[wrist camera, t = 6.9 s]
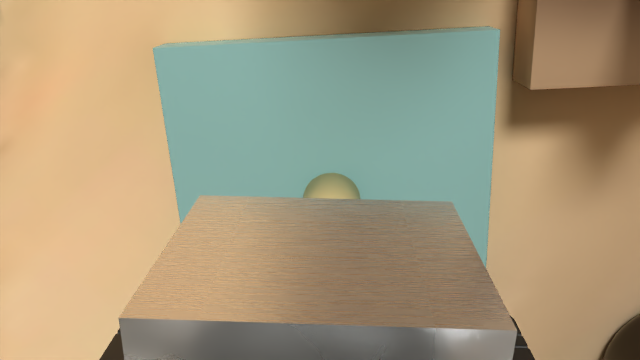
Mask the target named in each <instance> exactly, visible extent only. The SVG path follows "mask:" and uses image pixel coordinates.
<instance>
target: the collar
mask: <svg viewBox="0 0 640 360" xmlns="http://www.w3.org/2000/svg"><path fill="white" fill-rule="evenodd" d="M119 324H120V332H121V339H122V346H123V353H124V360H513V354H514V348H515V341H516V335H517V329H516V327H515V325H514V323H513V321H512V319H511V317H510V315H509V313H508V311H507V309H506V307H505V305H504V303H503V301H502V299H501V297H500V295H499V293H498V291H497V289H496V288H495V286H494V284H493V282H492V280H491V278H490V276H489V274H488V272H487V270H486V268H485V266H484V264H483V262H482V260H481V258H480V256H479V254H478V252H477V250H476V248H475V246H474V244H473V242H472V240H471V238H470V236H469V234H468V232H467V230H466V228H465V226H464V224H463V222H462V220H461V218H460V216H459V214H458V213H457V211H456V209H455V207H454V205H453V203H452V201H412V200H371V199H330V198H290V197H249V196H208V195H200V196H199V197H198V199H197V200H196V202H195V203H194V205H193V206H192V208H191V209H190V211H189V212H188V214H187V215H186V217H185V219H184V220H183V222H182V223H181V225H180V226H179V228H178V229H177V231H176V232H175V234H174V235H173V237H172V238H171V240H170V241H169V243H168V244H167V246H166V247H165V249H164V250H163V252H162V253H161V255H160V256H159V258H158V259H157V261H156V262H155V264H154V265H153V267H152V268H151V270H150V271H149V273H148V274H147V276H146V277H145V279H144V280H143V282H142V283H141V285H140V286H139V288H138V289H137V291H136V292H135V294H134V295H133V297H132V298H131V300H130V301H129V303H128V304H127V306H126V307H125V309H124V310H123V312H122V313H121V315H120V317H119Z"/></svg>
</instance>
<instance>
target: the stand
mask: <svg viewBox="0 0 640 360" xmlns="http://www.w3.org/2000/svg"><path fill="white" fill-rule="evenodd" d="M513 80H514V81H516V82H517V83H519V84H521V85H523V86H524V87H526V88H528V89H530V90H537V89H558V88H580V87H601V86H622V85H640V0H518V10H517V25H516V39H515V54H514V68H513Z"/></svg>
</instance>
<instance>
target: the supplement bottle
mask: <svg viewBox="0 0 640 360" xmlns="http://www.w3.org/2000/svg"><path fill="white" fill-rule="evenodd" d="M603 360H640V314H639V315H637V316H636V317H634V318H633V319H632V320H630V321H629V322H628V323H626V324H625V325H624V326H623V327H622V328H621V329H620V330H619V331H618V332H617V333H616V335H615V336H614V337H613V339H612V340H611V342H610V344H609V345H608V347H607V349H606V352H605V354H604V358H603Z"/></svg>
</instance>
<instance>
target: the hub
mask: <svg viewBox="0 0 640 360" xmlns="http://www.w3.org/2000/svg"><path fill="white" fill-rule="evenodd" d="M499 39H500V30H499V29H496V28H493V27H489V26H485V27H466V28H447V29H429V30H410V31H391V32H372V33H354V34H335V35H316V36H298V37H279V38H260V39H241V40H223V41H204V42H185V43H167V44H163V45H160V46H157V47H155V48H153V53H154V59H155V65H156V72H157V78H158V84H159V91H160V97H161V103H162V109H163V116H164V122H165V128H166V134H167V141H168V147H169V153H170V160H171V166H172V172H173V178H174V185H175V191H176V197H177V204H178V210H179V216H180V222H181V223H182V222H183V220H184V219H185V217H186V215H187V214H188V212H189V211H190V209H191V208H192V206H193V205H194V203H195V202H196V200H197V199H198V197H199V196H200V195H208V196H249V197H290V198H330V199H371V200H412V201H452V203H453V205H454V207H455V209H456V211H457V213H458V214H459V216H460V218H461V220H462V222H463V224H464V226H465V228H466V230H467V232H468V234H469V236H470V238H471V240H472V242H473V244H474V246H475V248H476V250H477V252H478V254H479V256H480V258H481V260H482V262H483V264H484V266H485V268H486V260H487V243H488V226H489V209H490V192H491V175H492V158H493V141H494V124H495V107H496V90H497V73H498V56H499Z"/></svg>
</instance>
